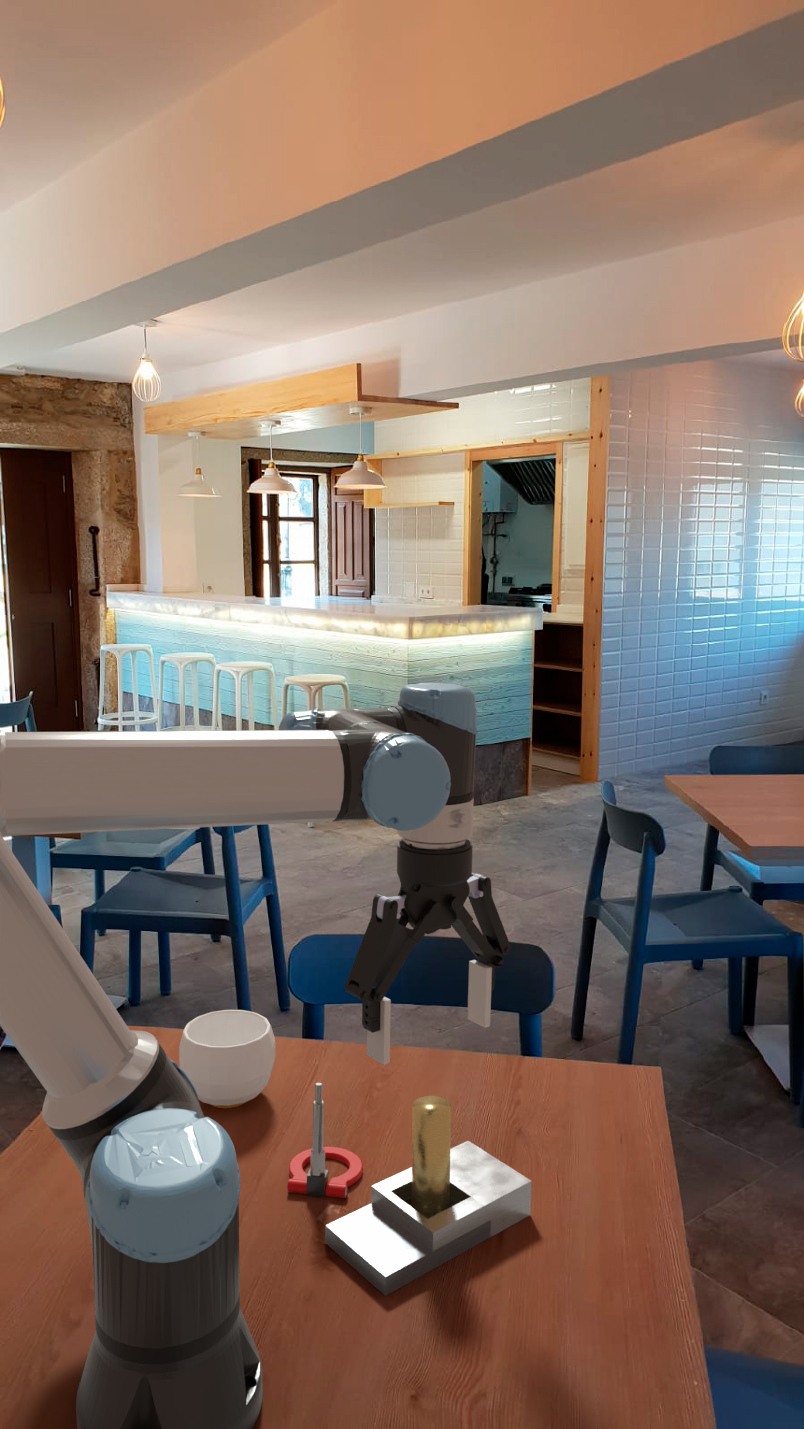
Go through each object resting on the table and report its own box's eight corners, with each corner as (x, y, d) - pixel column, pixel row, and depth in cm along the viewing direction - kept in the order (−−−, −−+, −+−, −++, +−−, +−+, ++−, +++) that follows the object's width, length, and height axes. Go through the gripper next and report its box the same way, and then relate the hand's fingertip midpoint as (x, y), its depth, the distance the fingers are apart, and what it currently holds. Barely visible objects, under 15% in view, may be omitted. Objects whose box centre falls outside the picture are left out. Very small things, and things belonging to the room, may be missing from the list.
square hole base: (385, 1296, 100) (385, 1258, 100) (325, 1243, 108) (325, 1207, 107) (530, 1215, 113) (531, 1180, 112) (467, 1172, 120) (468, 1140, 120)
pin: (428, 1246, 107) (429, 1120, 105) (403, 1227, 110) (404, 1104, 108) (456, 1231, 110) (459, 1107, 108) (432, 1212, 113) (433, 1091, 111)
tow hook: (299, 1152, 125) (278, 1195, 116) (300, 1048, 124) (279, 1083, 115) (368, 1159, 124) (352, 1203, 115) (370, 1055, 123) (354, 1090, 113)
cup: (160, 1103, 135) (158, 1032, 134) (227, 1065, 145) (226, 1000, 144) (229, 1133, 128) (228, 1059, 127) (295, 1091, 138) (294, 1023, 137)
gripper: (357, 869, 93) (354, 1091, 96) (548, 828, 109) (541, 1020, 112) (309, 850, 99) (308, 1061, 102) (498, 814, 115) (492, 997, 118)
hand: (430, 1040), depth 107 cm, fingers open, 13 cm apart
